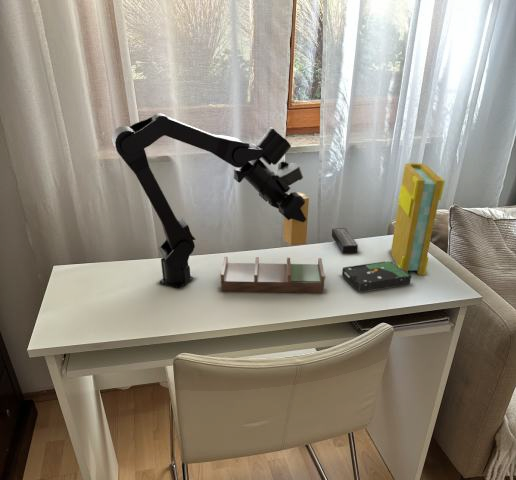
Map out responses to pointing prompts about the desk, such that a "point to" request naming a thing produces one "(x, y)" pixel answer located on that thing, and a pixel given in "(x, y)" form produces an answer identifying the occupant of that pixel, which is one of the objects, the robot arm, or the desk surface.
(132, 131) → the robot arm
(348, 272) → the disk drive
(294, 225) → the package
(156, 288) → the desk surface
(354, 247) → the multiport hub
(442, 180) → the book
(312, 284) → the rack
